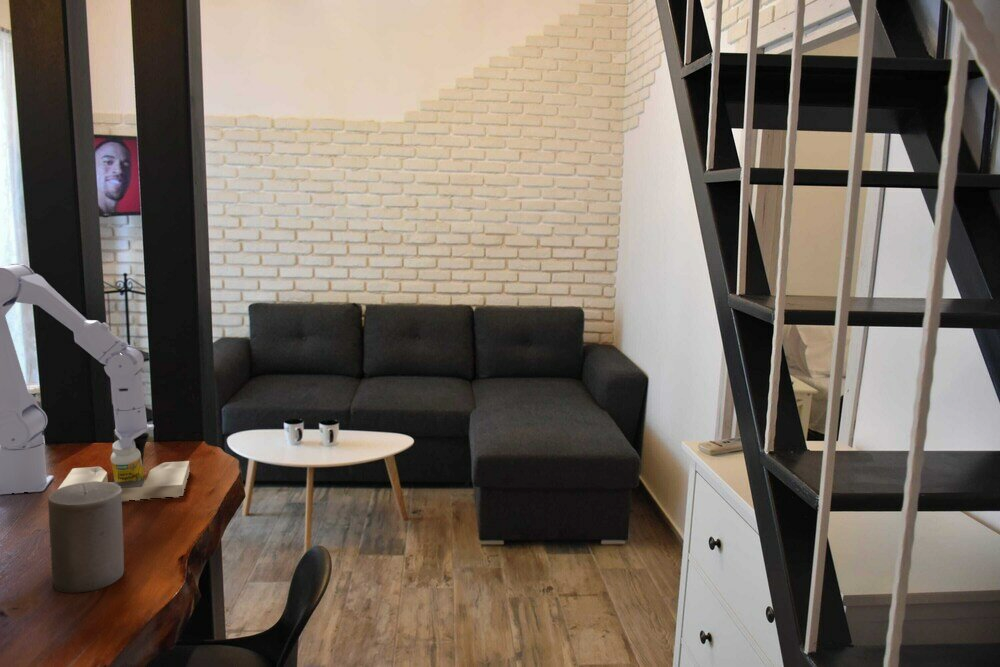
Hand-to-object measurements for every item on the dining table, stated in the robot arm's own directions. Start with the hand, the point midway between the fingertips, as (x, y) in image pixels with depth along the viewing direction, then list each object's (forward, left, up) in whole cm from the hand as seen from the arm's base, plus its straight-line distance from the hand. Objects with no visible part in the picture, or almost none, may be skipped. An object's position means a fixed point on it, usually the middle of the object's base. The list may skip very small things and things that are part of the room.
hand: (136, 470), depth 148 cm
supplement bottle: (-1, -2, -2) cm, 3 cm away
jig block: (-1, -4, -2) cm, 4 cm away
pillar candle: (0, -41, -3) cm, 41 cm away
